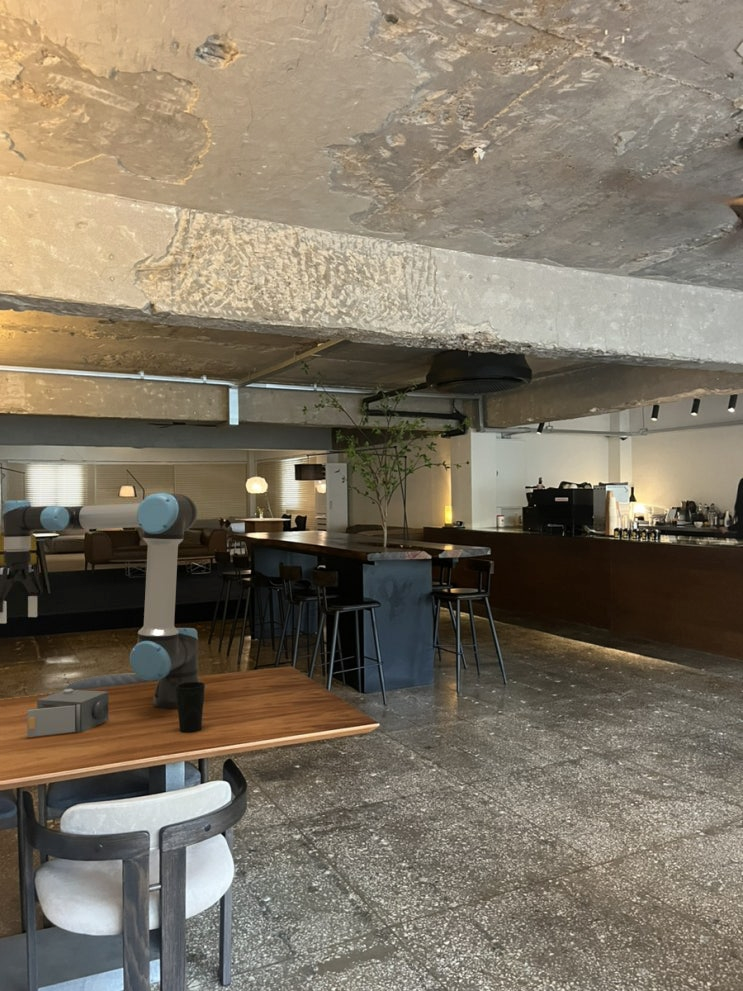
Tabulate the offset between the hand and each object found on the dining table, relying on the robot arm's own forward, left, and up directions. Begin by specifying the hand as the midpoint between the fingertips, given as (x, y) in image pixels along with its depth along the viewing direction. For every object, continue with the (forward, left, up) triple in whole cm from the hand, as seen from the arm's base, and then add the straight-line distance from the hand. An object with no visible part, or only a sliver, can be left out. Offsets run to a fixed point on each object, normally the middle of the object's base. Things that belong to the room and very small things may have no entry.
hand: (17, 620), depth 221 cm
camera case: (-29, +12, -27) cm, 41 cm away
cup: (-64, +10, -27) cm, 70 cm away
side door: (-30, +23, -26) cm, 46 cm away
